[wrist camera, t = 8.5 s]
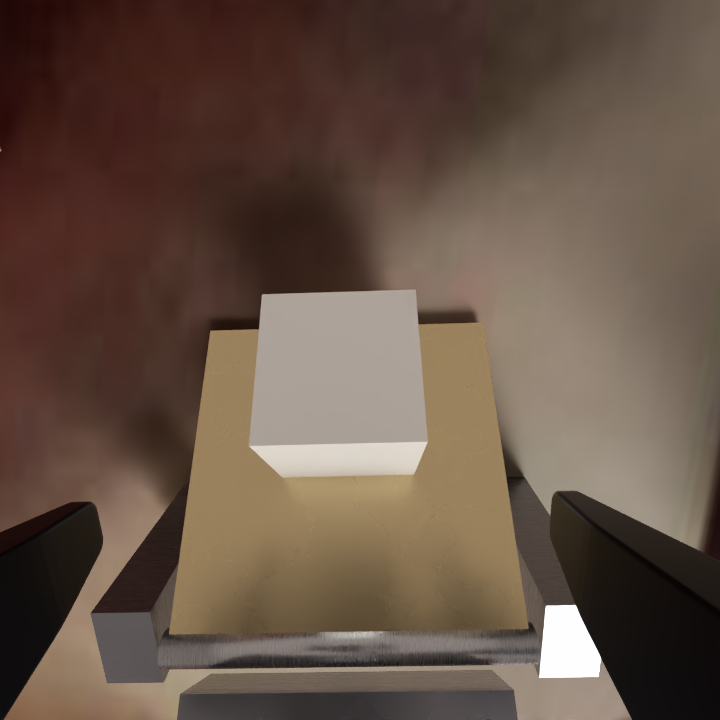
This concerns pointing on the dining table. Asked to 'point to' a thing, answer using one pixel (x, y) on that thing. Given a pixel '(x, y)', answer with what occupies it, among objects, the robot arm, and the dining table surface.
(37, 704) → the dining table surface
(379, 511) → the trapdoor
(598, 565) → the robot arm
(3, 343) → the dining table surface
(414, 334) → the cube
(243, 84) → the dining table surface
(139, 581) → the frame
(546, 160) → the dining table surface
